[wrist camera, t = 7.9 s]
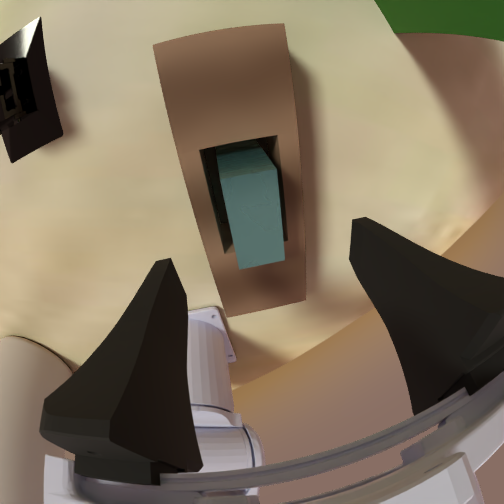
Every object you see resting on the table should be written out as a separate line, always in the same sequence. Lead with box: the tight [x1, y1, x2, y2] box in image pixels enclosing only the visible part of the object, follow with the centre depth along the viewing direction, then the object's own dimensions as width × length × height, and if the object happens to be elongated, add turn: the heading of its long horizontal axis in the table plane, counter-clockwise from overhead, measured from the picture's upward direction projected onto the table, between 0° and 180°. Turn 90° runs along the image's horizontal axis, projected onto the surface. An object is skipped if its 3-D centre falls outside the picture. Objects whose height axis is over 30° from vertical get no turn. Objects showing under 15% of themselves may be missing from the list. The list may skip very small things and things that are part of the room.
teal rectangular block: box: [215, 139, 285, 270], centre depth 15 cm, size 5×2×6 cm, turn 8°
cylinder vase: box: [0, 336, 73, 504], centre depth 17 cm, size 12×12×25 cm
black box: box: [0, 17, 63, 163], centre depth 9 cm, size 12×7×5 cm, turn 8°
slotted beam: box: [153, 23, 306, 318], centre depth 16 cm, size 18×6×4 cm, turn 8°
